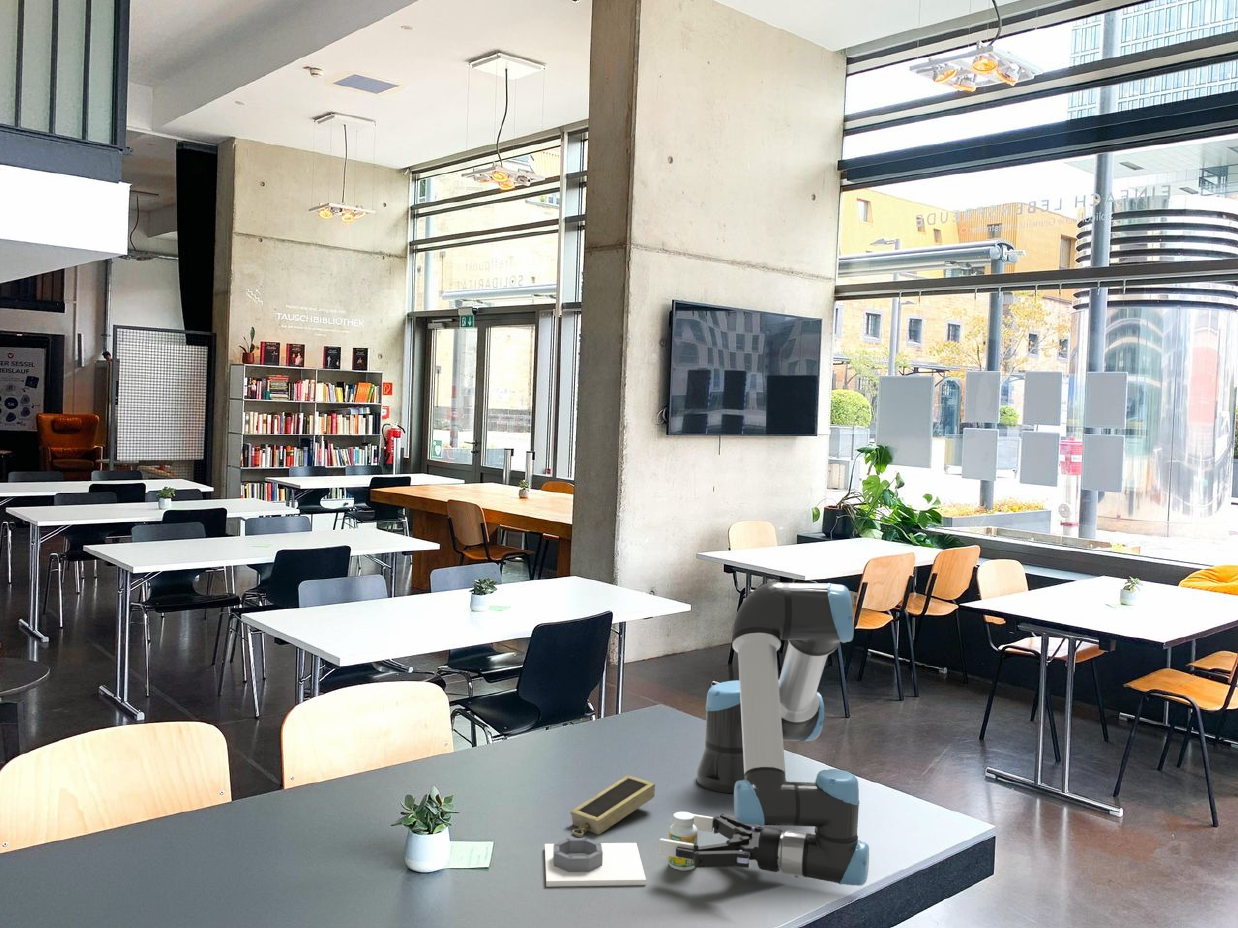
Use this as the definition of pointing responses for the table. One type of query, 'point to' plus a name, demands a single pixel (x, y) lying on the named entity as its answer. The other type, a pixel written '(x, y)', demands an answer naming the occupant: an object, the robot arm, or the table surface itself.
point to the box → (611, 805)
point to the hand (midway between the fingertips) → (670, 832)
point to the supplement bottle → (683, 838)
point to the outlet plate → (604, 875)
